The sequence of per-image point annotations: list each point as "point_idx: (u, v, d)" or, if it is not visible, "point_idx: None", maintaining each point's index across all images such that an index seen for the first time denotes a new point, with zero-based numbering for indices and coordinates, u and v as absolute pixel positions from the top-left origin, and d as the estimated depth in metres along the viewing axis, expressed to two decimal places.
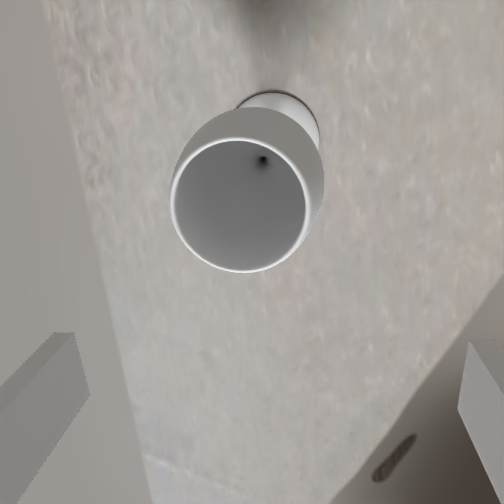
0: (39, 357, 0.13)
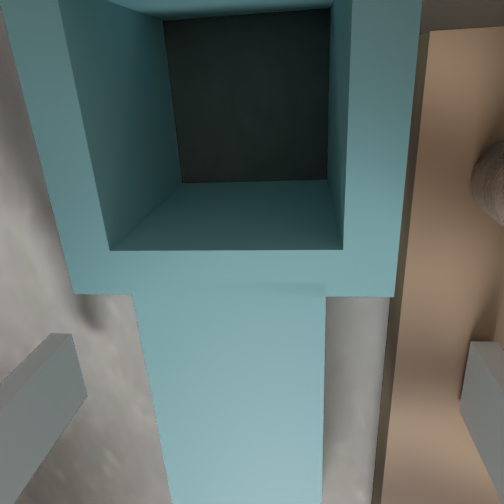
0: (35, 358, 0.13)
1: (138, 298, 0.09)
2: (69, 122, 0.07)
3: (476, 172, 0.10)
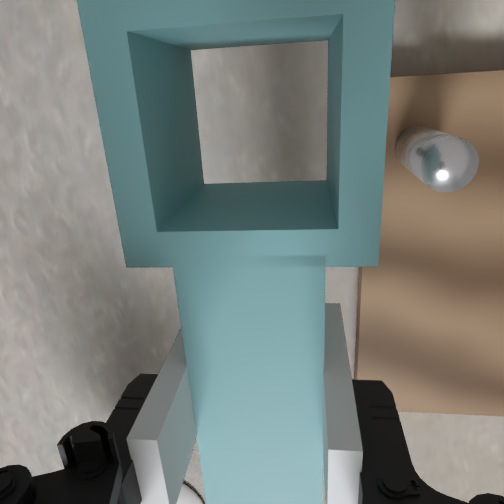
0: None
1: (177, 270, 0.11)
2: (131, 132, 0.10)
3: (396, 144, 0.21)
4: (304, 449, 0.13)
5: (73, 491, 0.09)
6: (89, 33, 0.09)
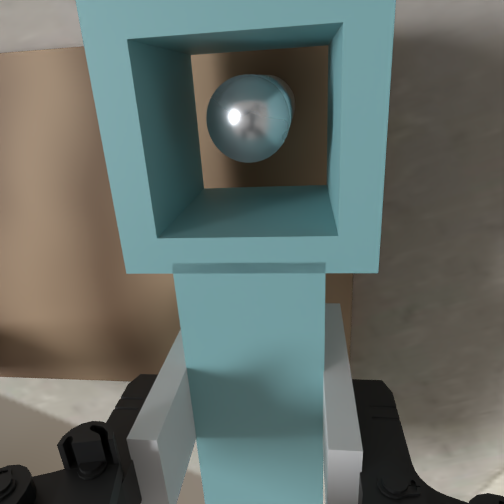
0: None
1: (177, 276, 0.11)
2: (131, 139, 0.10)
3: (270, 75, 0.15)
4: (305, 455, 0.13)
5: (73, 491, 0.09)
6: (89, 41, 0.09)
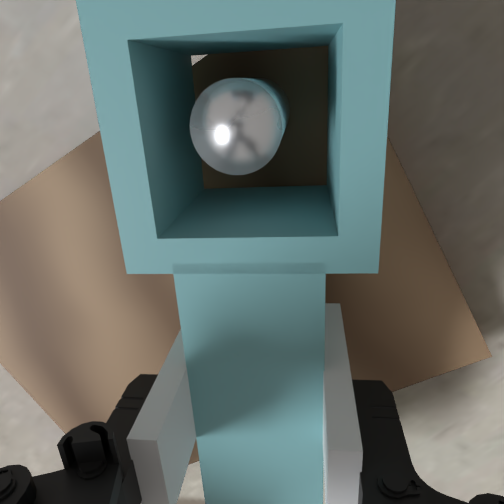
0: None
1: (178, 276, 0.11)
2: (131, 140, 0.10)
3: None
4: (305, 455, 0.13)
5: (73, 491, 0.09)
6: (90, 41, 0.09)
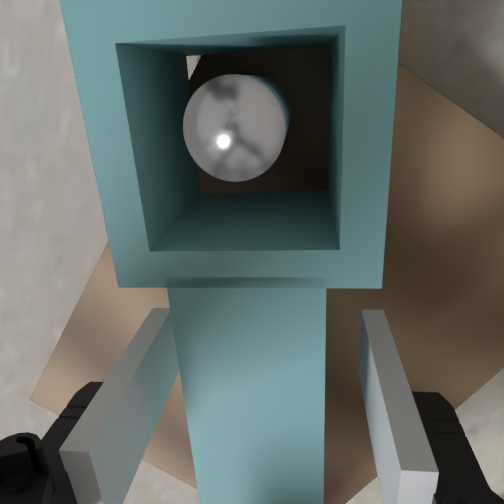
0: (148, 327, 0.14)
1: (171, 290, 0.11)
2: (121, 149, 0.09)
3: None
4: (304, 472, 0.12)
5: None
6: (75, 45, 0.08)
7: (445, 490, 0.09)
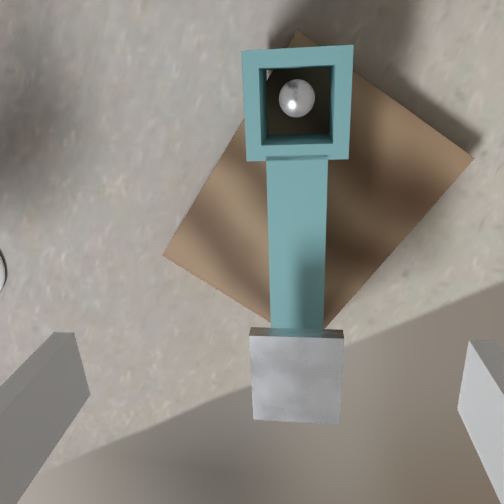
0: (39, 357, 0.13)
1: (268, 162, 0.27)
2: (255, 105, 0.26)
3: None
4: (317, 249, 0.29)
5: None
6: (244, 68, 0.25)
7: None
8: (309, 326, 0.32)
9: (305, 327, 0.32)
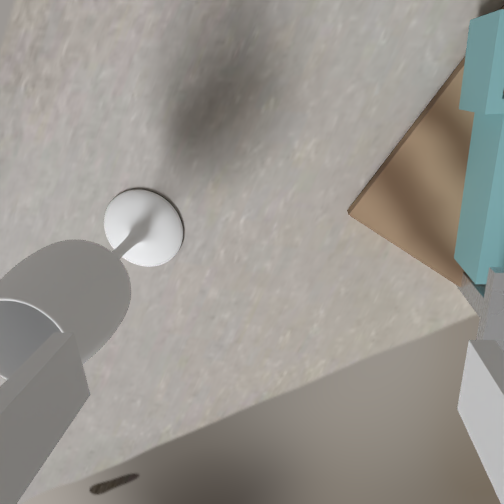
0: (39, 357, 0.13)
1: None
2: None
3: None
4: None
5: None
6: (500, 26, 0.28)
7: None
8: None
9: None
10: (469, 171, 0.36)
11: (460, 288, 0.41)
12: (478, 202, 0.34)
